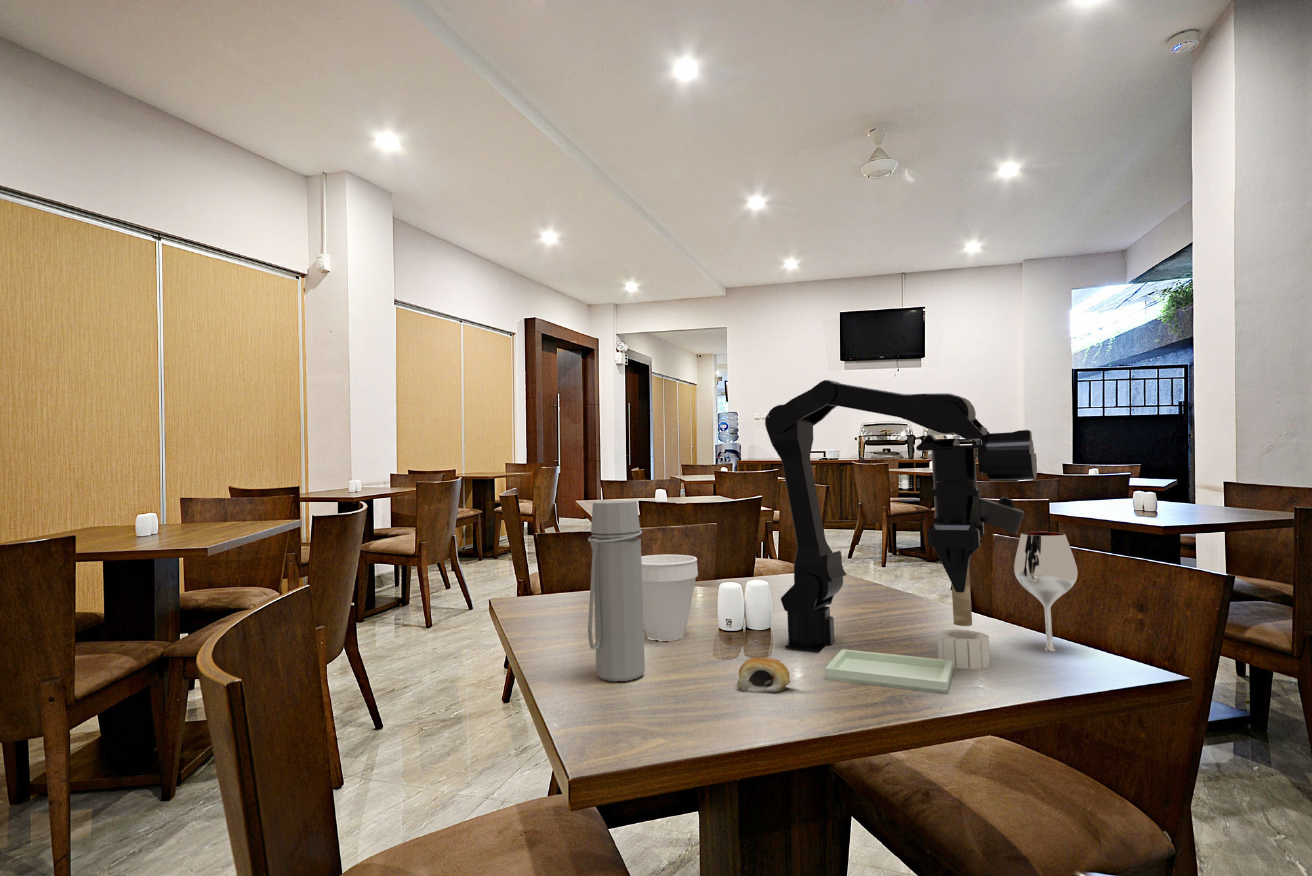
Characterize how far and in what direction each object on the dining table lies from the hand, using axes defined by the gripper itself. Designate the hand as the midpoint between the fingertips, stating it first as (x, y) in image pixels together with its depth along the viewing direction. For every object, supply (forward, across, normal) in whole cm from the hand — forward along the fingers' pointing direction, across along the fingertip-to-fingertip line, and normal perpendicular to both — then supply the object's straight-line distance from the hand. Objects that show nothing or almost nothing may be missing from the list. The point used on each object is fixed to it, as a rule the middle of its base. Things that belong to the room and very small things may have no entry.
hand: (960, 590), depth 94 cm
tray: (+11, -10, +9) cm, 17 cm away
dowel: (+5, 0, 0) cm, 5 cm away
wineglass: (+11, +11, -11) cm, 19 cm away
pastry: (+11, -17, +24) cm, 32 cm away
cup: (+11, 0, +48) cm, 49 cm away
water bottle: (+11, -23, +44) cm, 51 cm away
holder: (+11, 0, 0) cm, 11 cm away
